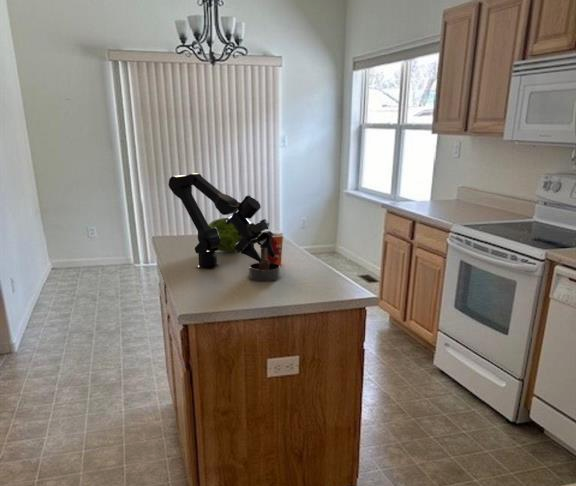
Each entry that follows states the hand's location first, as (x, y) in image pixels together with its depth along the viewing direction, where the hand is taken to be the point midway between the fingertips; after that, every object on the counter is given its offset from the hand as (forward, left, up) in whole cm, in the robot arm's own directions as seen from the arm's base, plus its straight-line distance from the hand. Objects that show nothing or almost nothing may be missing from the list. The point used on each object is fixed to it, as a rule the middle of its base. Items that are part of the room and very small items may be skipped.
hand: (267, 258), depth 202 cm
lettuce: (-28, +38, -8) cm, 48 cm away
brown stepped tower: (-1, 0, -7) cm, 7 cm away
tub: (-1, 0, -8) cm, 8 cm away
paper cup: (-3, +19, -8) cm, 21 cm away
